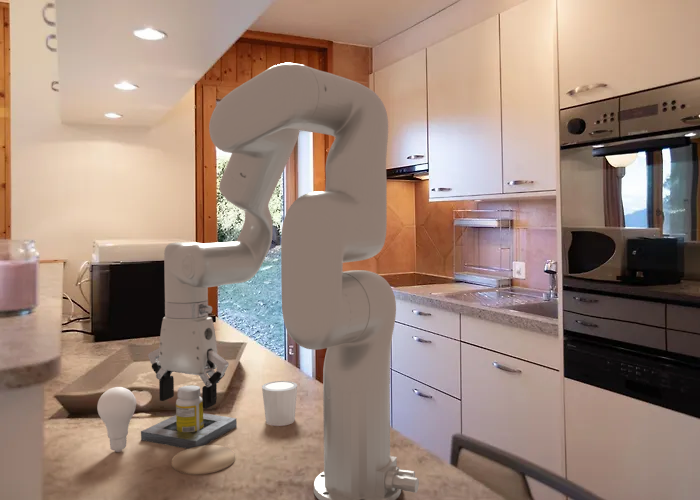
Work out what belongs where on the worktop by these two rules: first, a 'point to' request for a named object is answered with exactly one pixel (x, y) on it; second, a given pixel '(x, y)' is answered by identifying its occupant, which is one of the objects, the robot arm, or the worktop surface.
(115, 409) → the lightbulb
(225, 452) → the coaster
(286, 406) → the white cup
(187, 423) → the supplement bottle
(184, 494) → the worktop surface
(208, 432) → the collar
